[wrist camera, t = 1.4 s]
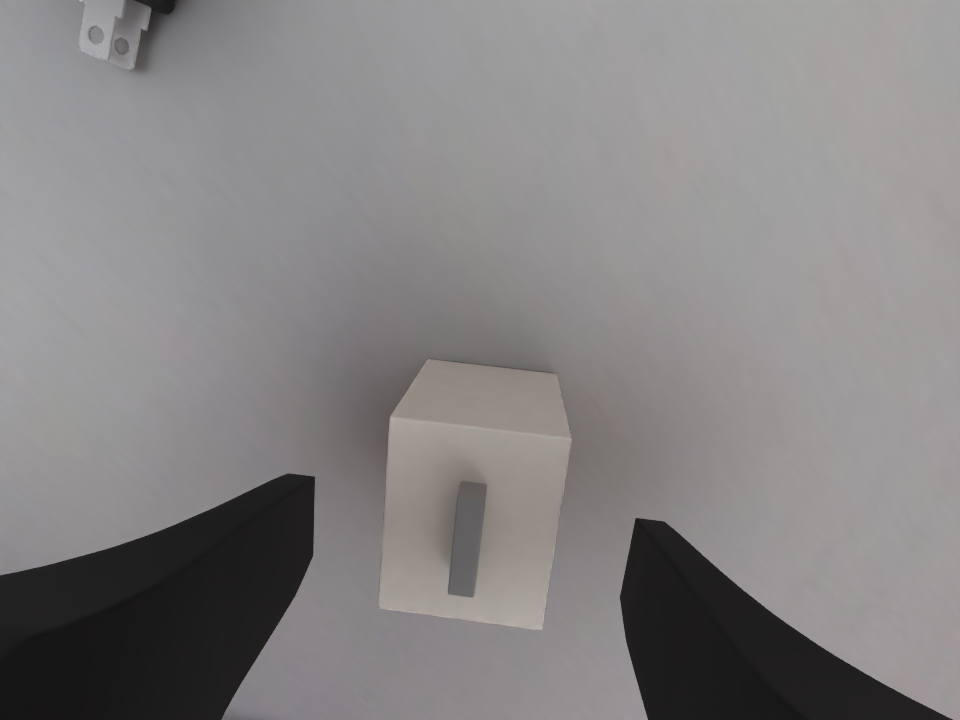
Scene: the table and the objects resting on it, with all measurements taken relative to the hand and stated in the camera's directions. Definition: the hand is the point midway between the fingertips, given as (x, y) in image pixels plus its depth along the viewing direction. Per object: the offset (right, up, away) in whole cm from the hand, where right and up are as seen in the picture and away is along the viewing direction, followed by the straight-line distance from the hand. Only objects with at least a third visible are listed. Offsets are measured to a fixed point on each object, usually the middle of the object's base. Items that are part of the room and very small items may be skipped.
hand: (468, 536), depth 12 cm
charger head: (0, +1, +5) cm, 5 cm away
